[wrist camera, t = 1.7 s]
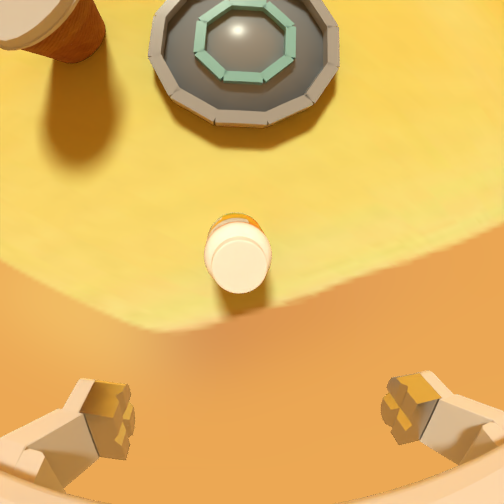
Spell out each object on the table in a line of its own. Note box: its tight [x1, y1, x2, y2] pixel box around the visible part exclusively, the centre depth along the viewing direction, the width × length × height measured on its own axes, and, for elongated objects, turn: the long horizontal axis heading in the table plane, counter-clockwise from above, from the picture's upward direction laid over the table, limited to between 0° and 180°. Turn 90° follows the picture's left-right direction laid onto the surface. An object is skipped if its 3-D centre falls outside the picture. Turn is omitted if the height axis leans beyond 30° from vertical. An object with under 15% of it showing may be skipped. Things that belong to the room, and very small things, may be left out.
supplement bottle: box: [204, 213, 272, 294], centre depth 27 cm, size 5×5×10 cm
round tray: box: [148, 0, 339, 128], centre depth 26 cm, size 18×18×2 cm
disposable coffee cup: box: [0, 0, 105, 63], centre depth 19 cm, size 10×10×12 cm
